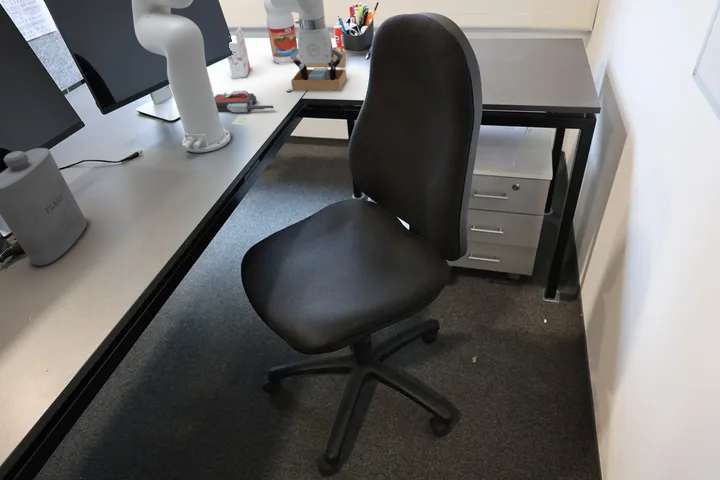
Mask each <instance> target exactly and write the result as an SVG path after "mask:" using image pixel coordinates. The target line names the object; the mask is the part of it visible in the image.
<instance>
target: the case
mask: <svg viewBox="0 0 720 480" xmlns="http://www.w3.org/2000/svg"><path fill="white" fill-rule="evenodd" d="M312 69H313V70H312V72H311V73H310V75H309V80H329V73H328V69H329V67H313V68H312Z"/></svg>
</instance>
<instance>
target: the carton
mask: <svg viewBox="0 0 720 480" xmlns="http://www.w3.org/2000/svg"><path fill="white" fill-rule="evenodd" d="M313 69H314V68H312V69H310V68H309V69H308V68H307V72H308V79H307V80H303V78H302V76H301V70H300V69H299V70H298V71H297V72H296V73H295V75H294V76H293V78H292V79H291V80H290V81H291V88H292V91H341V89H342V88H343V86H344V84H345V82H346V80H347V69H339V68H338V69H337V68H336V76H337V77H336V79H335V80H331V78H330V69H331V68H328V73H329V80H309V75H310V73H311V72H312V70H313Z"/></svg>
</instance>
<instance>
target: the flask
mask: <svg viewBox="0 0 720 480" xmlns="http://www.w3.org/2000/svg"><path fill="white" fill-rule="evenodd" d="M3 162H4V163H5V165H6V167H7V168H6V169H5V170H3V171H2V172H0V217H1V218H2V220H3V221H4V222H5V224H6V225H7V227H8V228H9V230H10V232H11V233H12V235H13V236H14V238H15V239H16V241H17V242H18V244H19V245H20V247H21V249H22V250H23V252H24V253H25V254H26V256H27V258H28V259H29V261H30V262H31V264H32V265H34V266H40V267H41V266H47V265H50V264H52V263H53V262H55V261H56V260H58V259H60V258H61V257H62V256H63V255H64V254H65V253H66V252H67V251H68V250H70V248H72V246H73V245H75V243H76V242H77V241H78V239H79V238H80V237H81V236H82V234H83V232H84V231H85V229H86V228H87V225H88V224H87V222H88V221H87V219H86V218H85V216H84V214H83V212H82V210H81V208H80V206H79V204H78V202H77V200H76V198H75V197H74V195H73V192H72V191H71V189H70V188H69V185H68V183H67V182H66V179H65V178H64V176H63V173H62V172H61V170H60V168H59V166H58V164H57V162H56V160H55V159H54V156H53V154H52V153H51V151H50V149H48V148H46V147H36V148H31V149H29V150H27V151H21V150H16V151H12V152H9V153H7V154H6V155H5V156H4V158H3Z"/></svg>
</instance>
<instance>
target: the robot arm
mask: <svg viewBox="0 0 720 480" xmlns="http://www.w3.org/2000/svg"><path fill="white" fill-rule="evenodd" d="M193 2H194V0H131V10H132V19H133V28H134V32H135V36H136V39H137V42H138V43H139V44H140V45H141V46H142V48H144V49H145V50H146V51H148V52H150V53H153V54H156V55H160V56H163V57H165V59H166V75H167V80H168V83H169V87H170V89H171V93H172V96H173V99H174V102H175V105H176V108H177V112H178V115H179V117H180V121H181V124H182V128H183V130H184V137H183V139H182V141H181V145H180V147H179V148H180V150H181V152H184V153H187V152H191V153H197V154H201V153H207V152H212V151H216V150H218V149H221V148H223V147H224V146H226V145H227V144H228V143H229V142H230V141H231V138H232V137H231V133H230V131H229V130H227V129H226V128H223V126H222V121H221V117H220V113H219V111H218V109H217V106H216V102H215V98H214V97H215V95H214V90H213V86H212V83H211V80H210V76H209V75H210V74H209V72H208V67H207V62H206V55H205V44H204V43H205V41H204V37H203V34H202V31H201V29H200V28H199V26H198V25H197V24H196V23H195V22H194V21H192V20H191V19H189V18H188V17H185V16H183V15H178V14H174V13H172V9H185V8H188V7H189V6H191V5H192V3H193ZM270 2H271V4H272V5H273V6H274V7H275V8H276V9H279V10H282V11H287V12H291V13H296V14H298V18H296V19H295V20H294V24H295V25H298V26H299V28H298V29H297V48H298V49H297V50H296V51H294V52H293V53H292V54H291V55H290V57H291V59H292V60H293V61H294V62H293V64H294V65H295V66H297V68H298V69H299V70H301V76H302V78H303V80H307V79H308V72H307V69H308V67H306V66H305V64H328V65H329V66H330V67H329V69H330V78H331V80H335V79H336V77H337V76H336V69H337V68H338V67H337V65H338V64H339V63H340V61H341V59H342V57H343V55H344V54H343V53H341V52H342V51H340V50H338V49H336V48H335V47H333V43H332V36H331V33H330V29H329V26H327V25H326V16H325V7H324V0H270ZM333 54H334V55H336V56H337V57H338V58H337V60H336V61H334V60H333V59H332V58H333ZM296 55H299V57H298V59H297V57H296Z"/></svg>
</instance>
